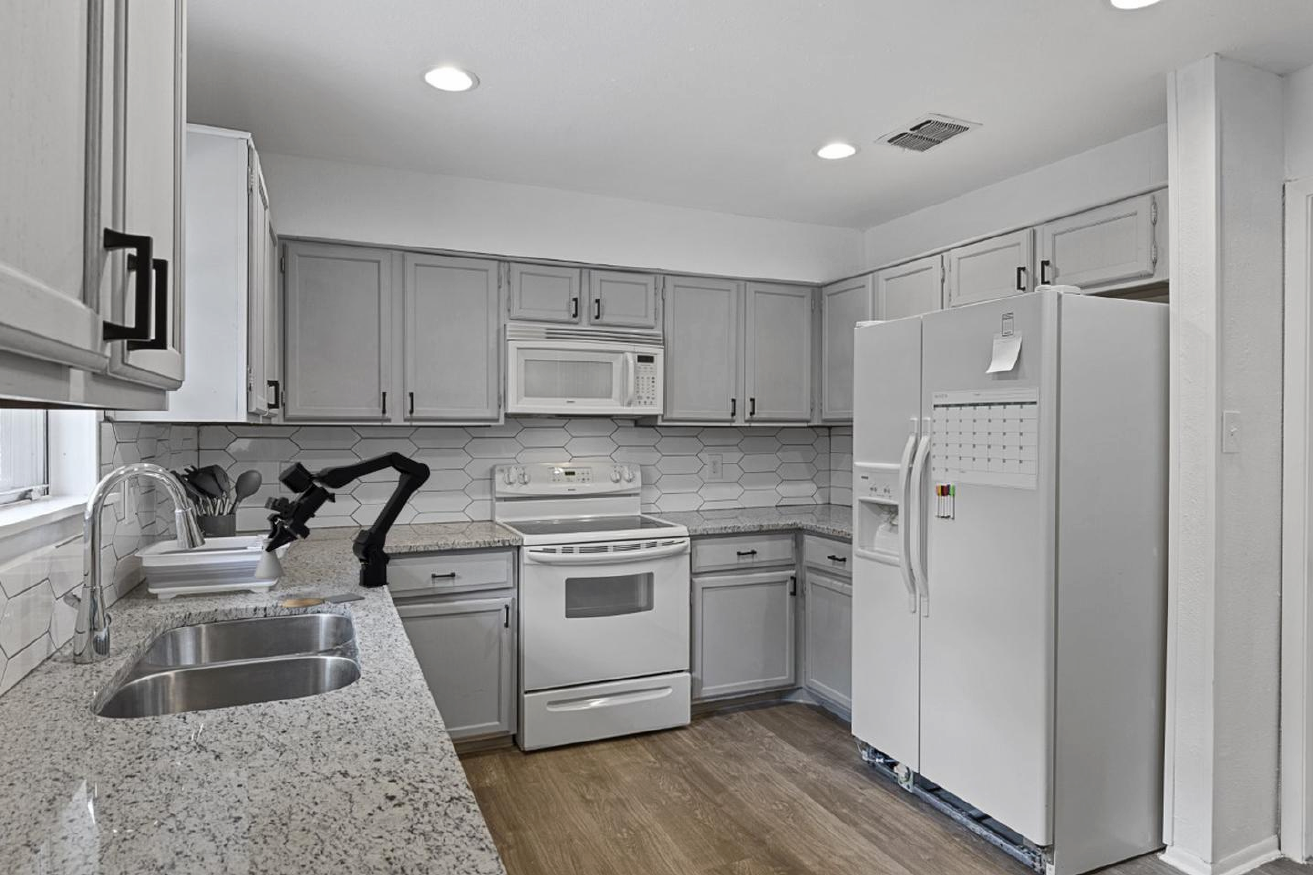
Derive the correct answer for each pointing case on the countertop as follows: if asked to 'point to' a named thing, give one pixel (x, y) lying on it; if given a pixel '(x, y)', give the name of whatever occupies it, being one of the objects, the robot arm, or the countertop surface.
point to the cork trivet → (302, 602)
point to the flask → (268, 564)
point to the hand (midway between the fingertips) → (264, 550)
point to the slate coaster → (343, 598)
